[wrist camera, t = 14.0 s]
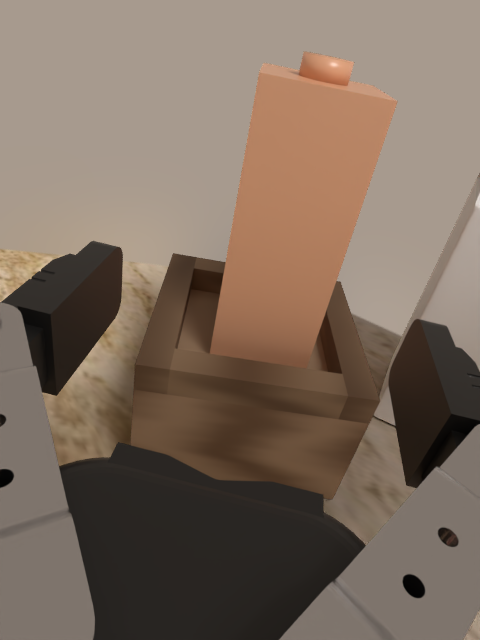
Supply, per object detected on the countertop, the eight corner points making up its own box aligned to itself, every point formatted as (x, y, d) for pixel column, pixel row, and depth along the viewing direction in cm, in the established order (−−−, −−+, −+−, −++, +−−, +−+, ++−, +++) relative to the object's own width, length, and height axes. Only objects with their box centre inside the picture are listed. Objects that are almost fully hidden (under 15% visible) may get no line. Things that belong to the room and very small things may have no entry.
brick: (300, 321, 27) (379, 65, 19) (304, 375, 23) (406, 76, 15) (220, 306, 27) (267, 41, 19) (208, 357, 23) (263, 45, 15)
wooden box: (310, 368, 33) (340, 281, 29) (332, 499, 24) (380, 400, 20) (163, 345, 32) (173, 253, 28) (128, 472, 23) (135, 364, 19)
